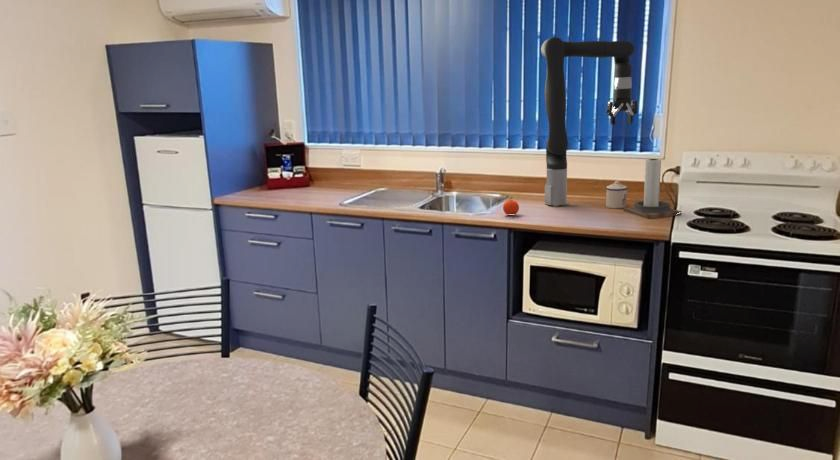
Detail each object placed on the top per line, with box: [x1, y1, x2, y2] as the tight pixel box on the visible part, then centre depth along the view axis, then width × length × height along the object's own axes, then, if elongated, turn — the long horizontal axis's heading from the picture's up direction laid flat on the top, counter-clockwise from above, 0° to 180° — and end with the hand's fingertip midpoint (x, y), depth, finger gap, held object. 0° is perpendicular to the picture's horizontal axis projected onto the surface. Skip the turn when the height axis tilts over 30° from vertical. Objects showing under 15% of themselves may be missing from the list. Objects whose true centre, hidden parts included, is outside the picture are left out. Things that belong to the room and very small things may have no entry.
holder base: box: [623, 200, 682, 220], centre depth 250 cm, size 16×17×4 cm
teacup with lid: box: [605, 180, 628, 209], centre depth 266 cm, size 12×9×12 cm
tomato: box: [502, 199, 520, 215], centre depth 258 cm, size 8×7×7 cm
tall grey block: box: [643, 158, 662, 207], centre depth 247 cm, size 7×6×21 cm
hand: (621, 124), depth 267 cm, fingers open, 8 cm apart
